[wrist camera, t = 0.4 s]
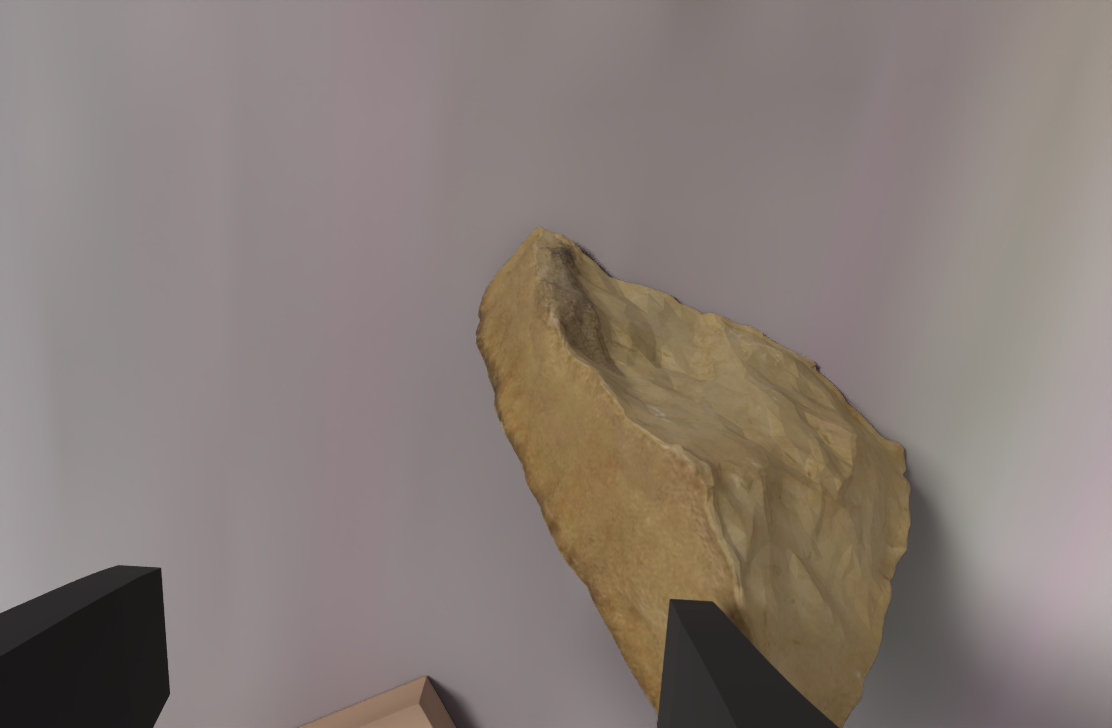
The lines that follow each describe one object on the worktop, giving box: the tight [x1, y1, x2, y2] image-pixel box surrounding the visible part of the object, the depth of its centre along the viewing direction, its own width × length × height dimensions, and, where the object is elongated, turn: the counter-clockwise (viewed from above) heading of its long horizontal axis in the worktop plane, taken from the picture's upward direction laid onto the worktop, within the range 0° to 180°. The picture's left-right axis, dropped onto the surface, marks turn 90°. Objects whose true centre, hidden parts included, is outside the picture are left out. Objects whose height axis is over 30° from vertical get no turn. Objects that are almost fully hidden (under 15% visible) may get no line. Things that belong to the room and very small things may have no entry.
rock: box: [476, 227, 911, 728], centre depth 18 cm, size 11×9×10 cm
